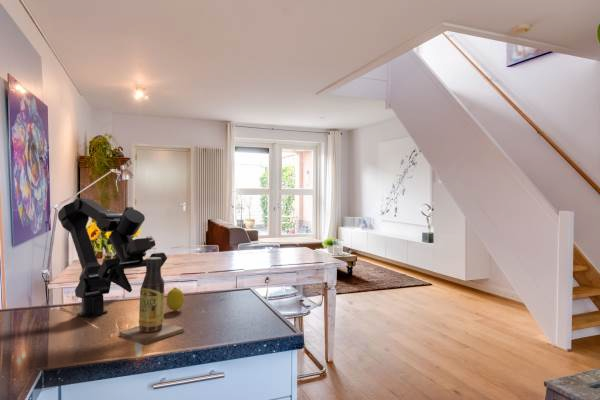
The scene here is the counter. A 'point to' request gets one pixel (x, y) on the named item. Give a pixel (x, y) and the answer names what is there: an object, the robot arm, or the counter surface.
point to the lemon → (175, 299)
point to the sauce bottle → (152, 297)
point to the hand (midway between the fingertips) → (146, 288)
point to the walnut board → (151, 333)
